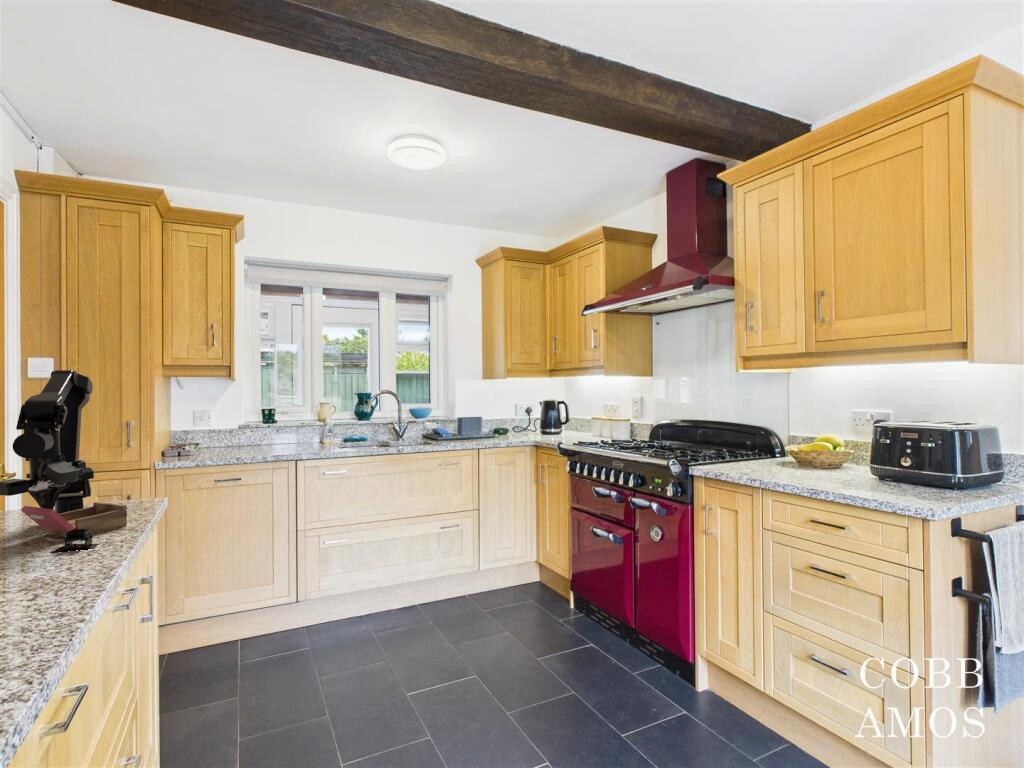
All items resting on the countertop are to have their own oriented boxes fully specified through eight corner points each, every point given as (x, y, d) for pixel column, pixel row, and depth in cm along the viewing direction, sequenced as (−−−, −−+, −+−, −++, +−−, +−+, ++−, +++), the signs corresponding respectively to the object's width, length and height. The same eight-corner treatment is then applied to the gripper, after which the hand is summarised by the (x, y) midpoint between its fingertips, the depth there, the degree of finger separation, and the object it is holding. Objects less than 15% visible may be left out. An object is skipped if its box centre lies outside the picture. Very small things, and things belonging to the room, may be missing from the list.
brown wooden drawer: (47, 534, 136) (47, 512, 136) (97, 522, 147) (97, 501, 147) (78, 538, 133) (78, 516, 133) (126, 525, 144) (126, 505, 144)
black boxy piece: (37, 557, 120) (37, 537, 120) (55, 547, 127) (55, 528, 127) (103, 553, 124) (103, 533, 124) (116, 543, 131) (116, 524, 131)
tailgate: (75, 528, 132) (53, 509, 128) (68, 535, 131) (45, 516, 126) (47, 524, 136) (24, 505, 131) (40, 531, 134) (17, 512, 130)
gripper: (22, 460, 119) (26, 530, 120) (108, 446, 137) (111, 507, 138) (-12, 457, 123) (-7, 526, 123) (76, 444, 140) (79, 504, 141)
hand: (48, 515), depth 131 cm, fingers closed, pressing on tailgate
